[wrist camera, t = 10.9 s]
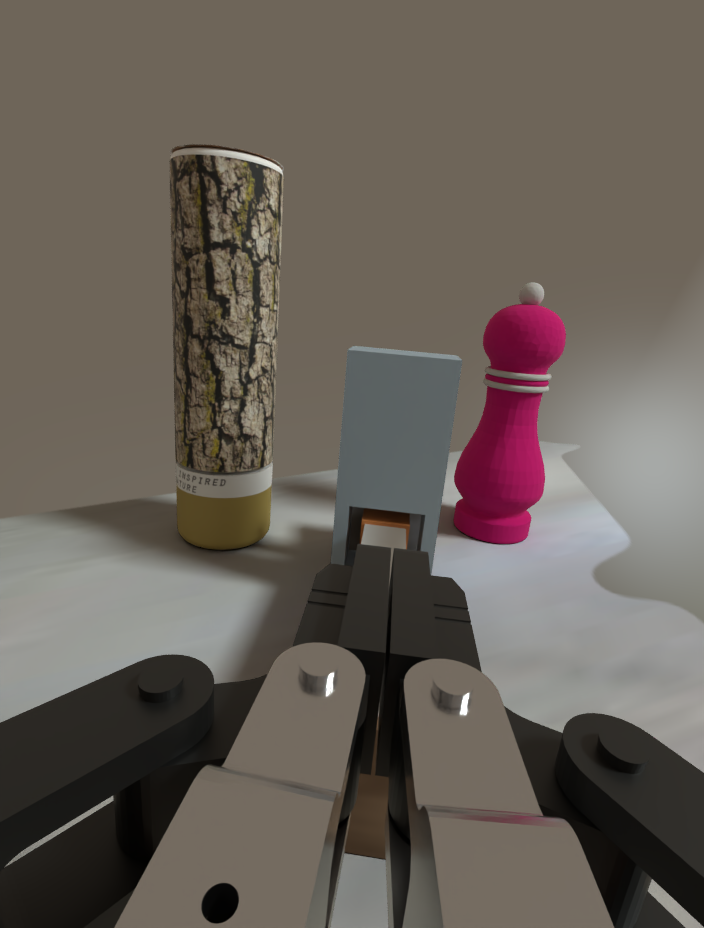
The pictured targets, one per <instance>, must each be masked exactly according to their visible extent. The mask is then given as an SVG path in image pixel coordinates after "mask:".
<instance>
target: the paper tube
mask: <svg viewBox="0 0 704 928" xmlns="http://www.w3.org/2000/svg"><path fill="white" fill-rule="evenodd" d="M170 154H171V159H170V203H171V252H172V253H171V254H172V302H173V348H174V350H173V352H174V397H175V398H174V403H175V452H176V484H177V527H178V531H179V533H180V535H181V536H182V537H183V538H184V539H185V540H186V541H187V542H189V543H191V544H193V545H196V546H198V547H202V548H207V549H215V550H227V549H236V548H242V547H245V546H249V545H251V544H253V543H255V542H257V541H259V540H261V539H262V538H263V537H264V536H265V534H266V533H267V532H268V530H269V526H270V508H271V484H272V464H273V462H272V460H273V439H274V412H275V389H276V388H275V387H276V363H277V336H278V312H279V311H278V310H279V286H280V261H281V260H280V259H281V235H282V234H281V233H282V208H283V183H284V177H283V173H282V171H283V166H282V165H281V164H280V163H279V162H277V161H275V160H273V159H271V158H268V157H266V156H263V155H260V154H257V153H253V152H250V151H245V150H241V149H236V148H229V147H223V146H215V145H183V146H177V147H174V148H172V149H171V150H170Z"/></svg>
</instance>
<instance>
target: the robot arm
mask: <svg viewBox="0 0 704 928" xmlns="http://www.w3.org/2000/svg"><path fill="white" fill-rule="evenodd" d="M390 561H391V548H390V547H381V546H373V545H364V544H358V545H357V550H356V555H355V560H354V565H353V566H348V565H339V564H331V563H330V564H329V565H328V566H327V567H325V568H324V569H323V570H322V571H320V572H319V573H318V574H317V575H316V578H315V581H314V584H313V587H312V591H311V593H310V596H309V599H308V603H307V605H306V608H305V611H304V614H303V617H302V620H301V623H300V626H299V629H298V632H297V635H296V638H295V641H294V644H293V647H291V648H289V649H287V650H286V651H284V652H283V653H282V654H280V655H279V656H278V657H277V658H276V660H275V661H274V663H273V665H272V667H271V669H270V671H269V673H268V674H267V675H264V676H261V677H259V678H255V679H251V680H246V681H239V682H230V683H221V684H214V678H213V674H212V672H211V670H210V669H209V668H208V666H207V665H205V664H204V663H203V662H201V661H199V660H197V659H195V658H192V657H189V656H184V655H161V656H155V657H152V658H148V659H145V660H142V661H140V662H137V663H135V664H133V665H130V666H128V667H126V668H124V669H121V670H119V671H117V672H114V673H112V674H110V675H108V676H105V677H103V678H101V679H99V680H96V681H94V682H92V683H90V684H87V685H85V686H83V687H80V688H78V689H76V690H74V691H71V692H69V693H67V694H65V695H62V696H60V697H58V698H55V699H53V700H51V701H49V702H46V703H44V704H42V705H40V706H37V707H35V708H33V709H31V710H28V711H26V712H24V713H21V714H19V715H17V716H15V717H12V718H10V719H8V720H6V721H3V722H1V723H0V928H330V927H331V922H332V916H333V911H334V905H335V900H336V895H337V889H338V884H339V879H340V873H341V868H342V862H343V857H344V852H345V846H346V841H347V836H348V830H349V825H350V816H351V811H352V809H353V808H354V805H355V803H356V799H357V793H358V784H359V775H360V773H361V774H368V775H371V770H372V761H373V753H374V745H375V736H376V728H377V720H378V711H379V720H378V736H377V752H376V768H375V775H377V776H383V777H389V790H388V803H387V810H386V818H385V854H386V880H387V906H388V928H685V927H684V926H683V925H682V924H681V923H680V922H679V921H678V920H677V919H676V918H675V917H674V916H673V915H672V914H670V913H669V912H668V911H667V910H666V909H665V908H664V907H663V906H662V905H661V904H660V903H659V902H658V901H657V900H656V899H655V898H654V897H653V896H652V895H651V894H650V893H649V892H648V888H649V885H650V883H651V880H652V879H653V880H654V881H655V882H656V883H657V884H658V885H659V886H661V887H662V888H663V889H664V890H665V891H666V892H667V893H668V894H669V895H670V896H671V897H672V898H673V899H674V900H675V901H677V902H678V903H679V904H680V905H681V906H682V907H683V908H684V909H685V910H686V911H687V912H688V913H689V914H690V915H692V916H693V917H694V918H695V919H696V920H697V921H698V922H699V923H700V924H701V925H702V926H703V927H704V773H703V772H702V771H700V770H699V769H698V768H696V767H695V766H693V765H692V764H690V763H689V762H688V761H686V760H685V759H683V758H682V757H681V756H679V755H678V754H676V753H675V752H674V751H672V750H671V749H669V748H668V747H667V746H665V745H664V744H662V743H661V742H660V741H658V740H657V739H655V738H654V737H653V736H651V735H650V734H648V733H647V732H645V731H644V730H642V729H641V728H639V727H637V726H635V725H633V724H631V723H629V722H627V721H624V720H622V719H619V718H616V717H613V716H609V715H604V714H596V713H587V714H581V715H578V716H575V717H573V718H572V719H570V720H569V721H568V722H567V724H566V725H565V727H564V730H563V733H561V732H558V731H555V730H553V729H550V728H548V727H545V726H542V725H540V724H537V723H534V722H532V721H529V720H527V719H525V718H523V717H521V716H519V715H517V714H515V713H513V712H512V711H510V710H509V709H508V708H506V707H505V706H504V705H503V702H502V699H501V697H500V694H499V692H498V690H497V688H496V686H495V685H494V684H493V682H492V681H491V680H490V679H489V678H488V677H487V676H485V675H484V674H483V673H482V671H481V667H480V662H479V658H478V653H477V648H476V644H475V639H474V634H473V630H472V625H471V620H470V616H469V611H468V606H467V602H466V597H465V592H464V591H463V590H462V589H461V588H460V587H459V586H458V585H457V584H456V582H455V581H454V580H453V579H452V578H448V577H439V576H431V575H430V565H429V555H428V552H424V551H416V550H407V549H399V548H394V551H393V559H392V567H391V576H390ZM389 579H390V584H389ZM379 703H380V704H379ZM111 796H113V798H114V801H112V802H111V803H109V804H107V805H106V806H104V807H103V808H101V809H99V810H98V811H96V812H94V813H93V814H91V815H90V816H88V817H86V818H85V819H83V820H81V821H80V822H78V823H77V824H75V825H73V826H72V827H70V828H68V829H67V830H65V831H64V832H62V833H60V834H59V835H57V836H55V837H54V838H52V839H51V840H49V841H47V842H46V843H44V844H42V845H41V846H39V847H38V848H36V849H34V850H33V851H31V852H29V853H28V854H26V855H25V856H23V857H21V858H20V859H18V860H16V861H15V862H13V863H12V864H10V865H8V866H6V865H7V864H8V863H9V862H10V861H11V860H12V859H13V858H14V857H15V856H16V855H17V854H19V853H20V852H21V851H23V850H24V849H26V848H27V847H29V846H30V845H32V844H34V843H35V842H37V841H39V840H40V839H42V838H44V837H45V836H47V835H49V834H50V833H52V832H53V831H55V830H57V829H58V828H60V827H62V826H63V825H65V824H67V823H68V822H70V821H72V820H73V819H75V818H77V817H78V816H80V815H81V814H83V813H85V812H86V811H88V810H90V809H91V808H93V807H95V806H96V805H98V804H100V803H101V802H103V801H105V800H106V799H108V798H109V797H111ZM5 866H6V867H5ZM4 867H5V868H4Z"/></svg>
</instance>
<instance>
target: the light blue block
mask: <svg viewBox="0 0 704 928" xmlns="http://www.w3.org/2000/svg"><path fill="white" fill-rule="evenodd" d="M461 366H462V360H461V359H460V358H459V357H458V356H456V355H445V354H434V353H424V352H413V351H403V350H392V349H381V348H370V347H359V346H353V347H351V348H350V349H348V354H347V367H346V380H345V392H344V404H343V417H342V429H341V442H340V456H339V467H338V479H337V492H336V505H335V517H334V530H333V542H332V555H331V564H339V565H348V566H353V565H354V560H355V555H356V551H354V550H349V542H350V531H351V519H352V508H353V507H362V508H370V509H379V510H387V511H396V512H405V513H413V514H421V521H420V529H419V536H418V544H417V551H424V552H428V555H429V565H430V575H431V572H432V565H433V558H434V551H435V544H436V538H437V531H438V524H439V517H440V510H441V503H442V496H443V489H444V483H445V476H446V469H447V462H448V455H449V448H450V441H451V434H452V427H453V421H454V414H455V407H456V400H457V393H458V387H459V380H460V373H461Z"/></svg>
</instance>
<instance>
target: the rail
mask: <svg viewBox="0 0 704 928" xmlns="http://www.w3.org/2000/svg"><path fill="white" fill-rule="evenodd" d="M420 521H421V514H413V513H405V512H396V511H387V510H379V509H370V508H362V507H353V508H352V519H351V531H350V542H349V550H354V551H356V550H357V545H358V544H364V545H373V546H381V547H390V548H391V561H390V576H391V567H392V559H393V551H394V548H399V549H407V550H416V551H417V544H418V536H419V529H420ZM389 584H390V579H389ZM379 704H380V703H379ZM378 720H379V711H378ZM378 720H377V728H376V736H375V745H374V753H373V761H372V770H371V775H368V774H361V773H360V775H359V784H358V793H357V799H356V803H355V805H354V808H353V809H352V811H351V816H350V825H349V830H348V836H347V841H346V846H345V852H346V853H352V854H358V855H364V856H370V857H376V858H382V859H386V854H385V818H386V810H387V803H388V790H389V777H383V776H377V775H375V768H376V752H377V736H378Z"/></svg>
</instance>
